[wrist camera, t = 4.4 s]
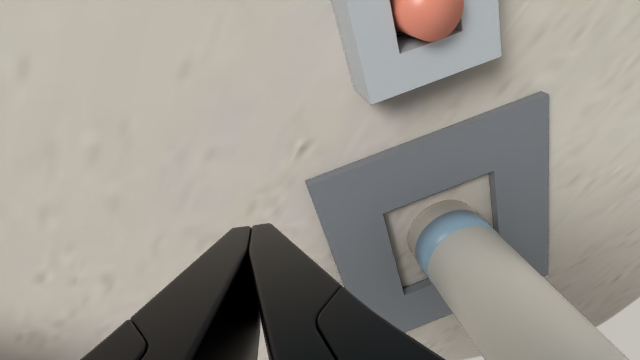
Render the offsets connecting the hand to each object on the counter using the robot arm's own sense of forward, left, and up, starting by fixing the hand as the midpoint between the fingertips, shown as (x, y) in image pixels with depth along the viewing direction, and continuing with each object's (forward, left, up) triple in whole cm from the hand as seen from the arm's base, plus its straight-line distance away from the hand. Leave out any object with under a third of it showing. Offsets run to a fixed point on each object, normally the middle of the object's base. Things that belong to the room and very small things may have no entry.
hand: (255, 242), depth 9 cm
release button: (+9, +1, -11) cm, 14 cm away
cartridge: (+9, -13, -12) cm, 19 cm away
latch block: (+9, +1, -12) cm, 15 cm away
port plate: (+9, -13, -12) cm, 19 cm away
